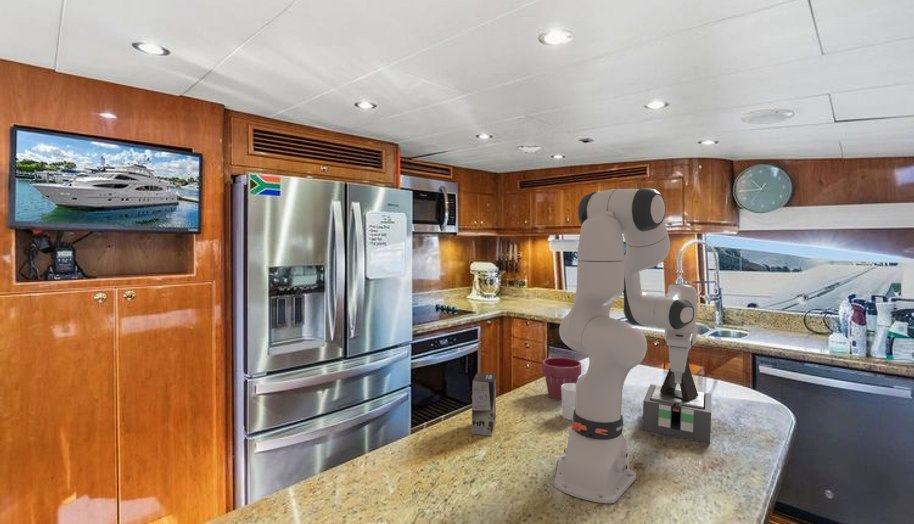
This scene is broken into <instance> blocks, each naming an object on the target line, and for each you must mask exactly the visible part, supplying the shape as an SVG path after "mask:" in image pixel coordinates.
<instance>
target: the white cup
mask: <svg viewBox="0 0 914 524" xmlns="http://www.w3.org/2000/svg"><path fill="white" fill-rule="evenodd" d="M561 396H562V400H561V409H562V410H561V411H562V412H561V413H562V418H564V419H565V420H568V421H570V422H571V421H572V418H573V413H574V410H575V399H576V383H565V384H562V385H561ZM572 422H573V421H572Z"/></svg>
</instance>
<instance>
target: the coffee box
mask: <svg viewBox="0 0 914 524" xmlns="http://www.w3.org/2000/svg"><path fill="white" fill-rule="evenodd" d="M471 387H472V388H471V389H472V394H471V395H472V396H471V397H472V400H471V403H472V404H471V434H472V435H481V436H482V435H483V436H488V437H489V436H493V433H494V430H495V427H496V421H497V420H496V419H497V418H496V417H497V416H496V415H497V411H496V410H497V373H494V372H492V373H491V372H476V373H475V375H474V378H473V379H472V386H471Z"/></svg>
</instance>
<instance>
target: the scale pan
mask: <svg viewBox="0 0 914 524" xmlns="http://www.w3.org/2000/svg"><path fill="white" fill-rule="evenodd" d="M655 385H656V387H655V390H654V392H653V395H652V397H651V400H652V401H657V402H663V403H669V404H672V405H673V408H675V409H679V407H681V406H686V407H692V408H698V409H703V408H704V393H705V392H704V391H698V390H697V393H698V396H697V397H695V398H693V399H690V400H688V401H687V400H684V399H680V398H677V397H674V396H670V395H667V394H663V393H660V390H661V388H662V385H658V384H655ZM675 389H676V390H680V391H681V388H678V387H676V388H675Z"/></svg>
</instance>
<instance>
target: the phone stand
mask: <svg viewBox="0 0 914 524" xmlns="http://www.w3.org/2000/svg"><path fill="white" fill-rule="evenodd" d="M677 385H678V384H676V383H675V376H674V372H671V369H670V368H669V369H668V371H667V373H666V375H665V378H664V381H663V383H662V385H661V386H662V388H661V390H660V393H663V394H667V395H670V396H674V397H677V398H680V399H684V400H687V401H688V400H690V399H693V398H695V397H697V396H698V393H697V391H698V390H697V387H696V384H695V381H694V378H693V374H692V370H691V368H690V358H689V356H688V355H687V361H686V366H685V371H684V373H682V378H681V384H679V387H680V388H679V389H681V391H680V390H676V389H675V388H677Z"/></svg>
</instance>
